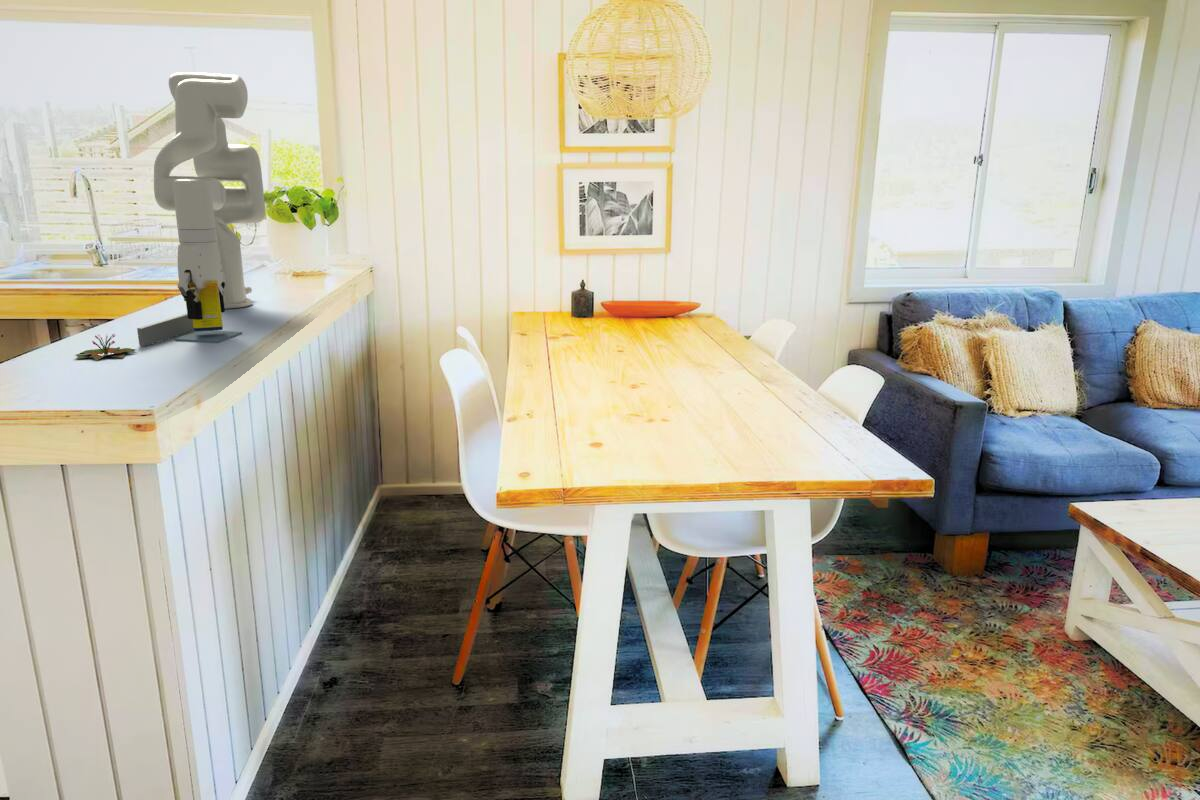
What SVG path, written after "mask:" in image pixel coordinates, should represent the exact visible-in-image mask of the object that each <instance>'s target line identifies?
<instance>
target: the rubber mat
mask: <svg viewBox="0 0 1200 800" xmlns="http://www.w3.org/2000/svg"><path fill="white" fill-rule="evenodd" d="M239 334H240V335H242V334H243V331H229V330H228V331H227V330H214V331H197V332H195V331H193V332H191V333H188V334H185V335H181V336H180V337H176V338H174V341H175V340H180V341H179V342H193V341H200V342H199V343H212V342H216V344H218V343H221V342H223V340H224V341H226V340H229V339H232V338H234V337H237V336H239ZM236 335H237V336H236ZM231 337H232V338H231ZM228 338H229V339H228Z"/></svg>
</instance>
